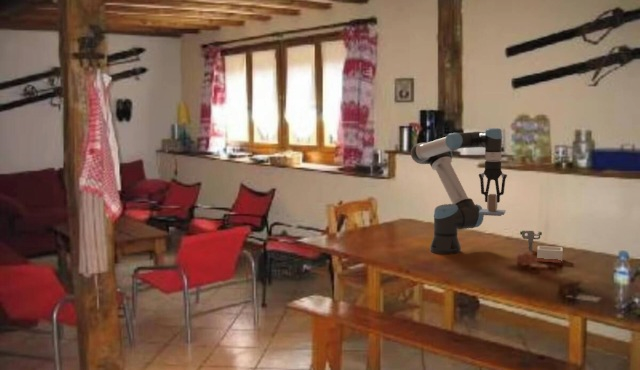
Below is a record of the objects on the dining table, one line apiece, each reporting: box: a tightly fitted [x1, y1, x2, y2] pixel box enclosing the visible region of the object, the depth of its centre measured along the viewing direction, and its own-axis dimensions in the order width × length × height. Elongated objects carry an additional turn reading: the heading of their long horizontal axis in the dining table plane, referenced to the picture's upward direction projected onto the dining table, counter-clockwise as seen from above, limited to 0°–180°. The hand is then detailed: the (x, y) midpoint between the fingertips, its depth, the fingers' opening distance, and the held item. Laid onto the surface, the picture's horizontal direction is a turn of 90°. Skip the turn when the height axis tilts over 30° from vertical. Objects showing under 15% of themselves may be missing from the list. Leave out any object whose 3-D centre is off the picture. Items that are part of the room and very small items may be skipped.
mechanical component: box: [519, 230, 543, 252], centre depth 323 cm, size 3×10×10 cm, turn 78°
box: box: [536, 245, 564, 262], centre depth 302 cm, size 11×8×6 cm
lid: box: [479, 193, 506, 217], centre depth 310 cm, size 12×9×10 cm
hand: (492, 208), depth 310 cm, fingers closed on lid, 3 cm apart
